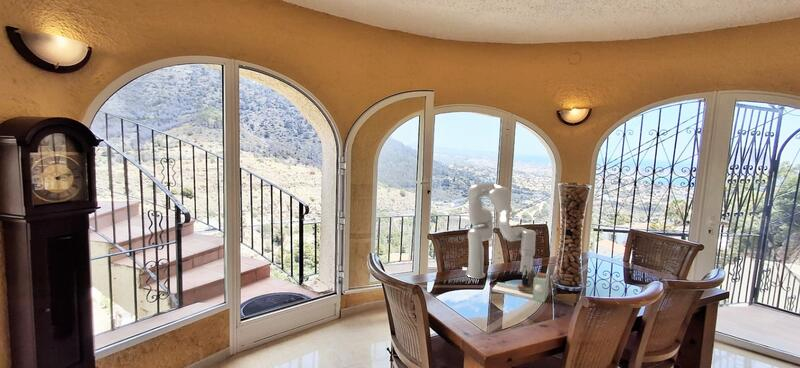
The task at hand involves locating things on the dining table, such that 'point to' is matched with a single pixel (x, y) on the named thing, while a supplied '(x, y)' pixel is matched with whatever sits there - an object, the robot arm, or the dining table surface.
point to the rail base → (511, 290)
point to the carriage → (526, 286)
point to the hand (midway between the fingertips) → (526, 282)
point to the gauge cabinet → (540, 288)
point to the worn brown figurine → (532, 277)
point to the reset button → (541, 275)
